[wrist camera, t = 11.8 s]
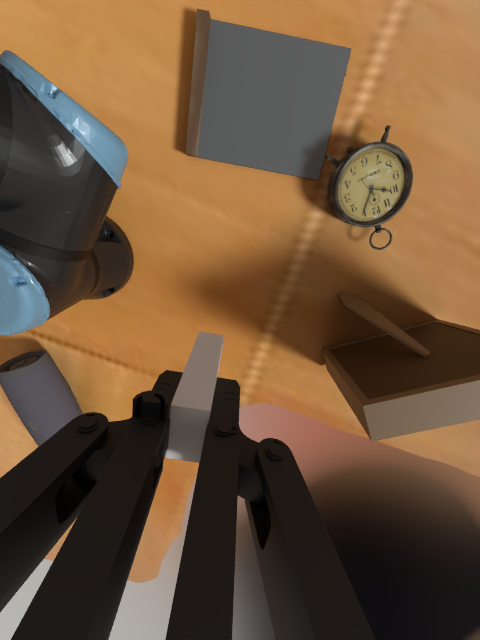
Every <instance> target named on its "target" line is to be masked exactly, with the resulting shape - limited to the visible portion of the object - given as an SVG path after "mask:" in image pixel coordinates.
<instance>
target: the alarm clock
mask: <svg viewBox="0 0 480 640" xmlns="http://www.w3.org/2000/svg"><path fill="white" fill-rule="evenodd" d="M389 130H390V126H386V128H385V133H384V135H383V136H382V138H381V142H373V143H369V144H366V145H363V146H361V147H360V148H356V149H355V150H353V148H352V147H348V152H349V154H347V155H346V156H345V157H344V158H343V159H342V160H341V161H340V162H339V161H337V160H336V159H334V158H332V157H330V155H327V156H326V160H329V161H330V162H331V163H332V164H333V165H335V166H336V167H335V169H334V171H333V173H332V175H331V177H330V181H329V185H328V200H329V204H330V207H331V209H332V211H333V212H334V214H335V215H336V216H337V217H338V218H339V219H340V220H342V221H343V222H345V223H348V224H351V225H355V226H359V227H373V226H375V231H374V232H373V233H372V234H371V236H370V240H369V241H370V245H371V247H372V248H374V249H376V250H382V249H385V248H387V247H388V246H389V245H390V243H391V241H392V234H391V232H390V231H389V230H387V229H385V228H381V226H380V224H383V223H385V222H386V221H388V220H390V219H391V218H392V217H394V216H395V215H396V214H397V213H398V212H399V211H400V210H401V208H402V207H403V206H404V204H405V202H406V200H407V199H408V197H409V194H410V191H411V187H412V181H413V173H412V167H411V164H410V161H409V159H408V157H407V155H406V154H405V153H404V152H403V151H402V150H401V149H400V148H399V147H397V146H396V145H394V144H391V143H388V142H386V140H387V137H388V133H389ZM382 230H386V231H387V232H388V233H389V234H390V240H389V243H388V244H387V245H386V246H384V247H382V248H377V247H375V246H373V244H372V242H371V239H372V236H373V234H374V233H375V232H376V233H380V232H381V231H382Z"/></svg>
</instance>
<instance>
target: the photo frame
mask: <svg viewBox="0 0 480 640" xmlns="http://www.w3.org/2000/svg"><path fill="white" fill-rule="evenodd" d="M338 296H339V297H340V299H341V301H342V303H343V304H344V306H346V307H347V308H349V309H350V310H352V311H354V312H355V313H357V314H358V315H360V316H361V317H363V318H364V319H366V320H368V321H369V322H371V323H372V324H374V325H375V326H377V327H378V328H380V329H382V330H383V331H385V332H386V333H382V334H378V335H374V336H370V337H367V338H363V339H359V340H355V341H351V342H347V343H343V344H339V345H335V346H332V347H328V348H324V349H322V353H323V356H324V360H325V364H326V368H327V370H328V372H329V374H330V375H331V377H332V378H333V380H334V382H335V383H336V385H337V386H338V388H339V390H340V391H341V393H342V394H343V396H344V398H345V399H346V401H347V402H348V404H349V406H350V407H351V409H352V410H353V412H354V414H355V415H356V417H357V418H358V420H359V422H360V423H361V425H362V426H363V428H364V430H365V431H366V433H367V435H368V436H369V438H370V439H371V441H377V440H382V439H386V438H391V437H396V436H401V435H406V434H411V433H416V432H421V431H425V430H430V429H435V428H440V427H445V426H450V425H455V424H460V423H465V422H469V421H474V420H479V419H480V330H478V329H474V328H470V327H466V326H462V325H458V324H454V323H450V322H446V321H442V320H438V319H437V320H433V321H429V322H425V323H421V324H417V325H413V326H409V327H405V328H402V329H400V328H399V327H397V326H396V325H395V324H394V323H392V322H391V321H390V320H388V319H387V318H386V317H384V316H383V315H382V314H381V313H379V312H378V311H377V310H375V309H374V308H373V307H371V306H370V305H369V304H368V303H366V302H365V301H364V300H362V299H361V298H357V297H354V296H350V295H347V294H343V293H338Z"/></svg>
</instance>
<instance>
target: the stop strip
mask: <svg viewBox="0 0 480 640" xmlns="http://www.w3.org/2000/svg"><path fill="white" fill-rule="evenodd" d="M210 21H211V18H210V13H209V11H205V10H200V9H197V19H196V31H195V43H194V55H193V67H192V79H191V91H190V103H189V115H188V127H187V140H186V152H185V154H187V155H188V156H194V157H197V155H198V144H199V134H200V124H201V114H202V103H203V93H204V83H205V73H206V62H207V52H208V42H209V32H210Z"/></svg>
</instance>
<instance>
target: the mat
mask: <svg viewBox="0 0 480 640" xmlns="http://www.w3.org/2000/svg"><path fill="white" fill-rule="evenodd" d="M350 53H351V49H350V48H345V47H341V46H336V45H331V44H326V43H322V42H317V41H312V40H307V39H303V38H298V37H293V36H288V35H284V34H279V33H274V32H269V31H265V30H260V29H255V28H250V27H246V26H241V25H236V24H231V23H227V22H222V21H217V20H212V19H211V21H210V32H209V42H208V52H207V62H206V73H205V83H204V93H203V103H202V114H201V124H200V134H199V144H198V155H197V157H198V158H203V159H208V160H214V161H219V162H224V163H229V164H235V165H240V166H245V167H250V168H256V169H261V170H266V171H271V172H277V173H282V174H287V175H292V176H298V177H303V178H308V179H313V180H319V177H320V173H321V169H322V165H323V161H324V157H325V153H326V149H327V145H328V141H329V137H330V133H331V129H332V125H333V121H334V117H335V113H336V109H337V105H338V101H339V97H340V93H341V89H342V85H343V81H344V77H345V73H346V69H347V65H348V61H349V57H350ZM193 157H194V156H193Z"/></svg>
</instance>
